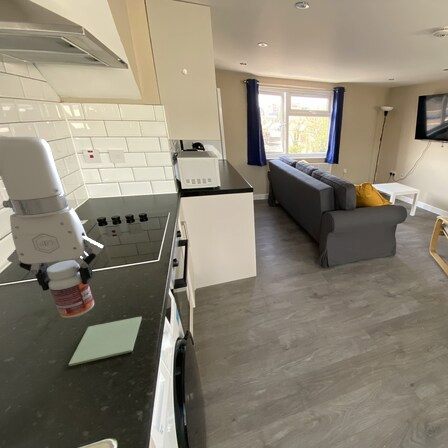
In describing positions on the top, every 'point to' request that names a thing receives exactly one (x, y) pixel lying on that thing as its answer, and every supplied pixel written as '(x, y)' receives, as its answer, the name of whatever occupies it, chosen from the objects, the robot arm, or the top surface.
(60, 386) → the top surface
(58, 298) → the pill bottle
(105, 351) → the mat
